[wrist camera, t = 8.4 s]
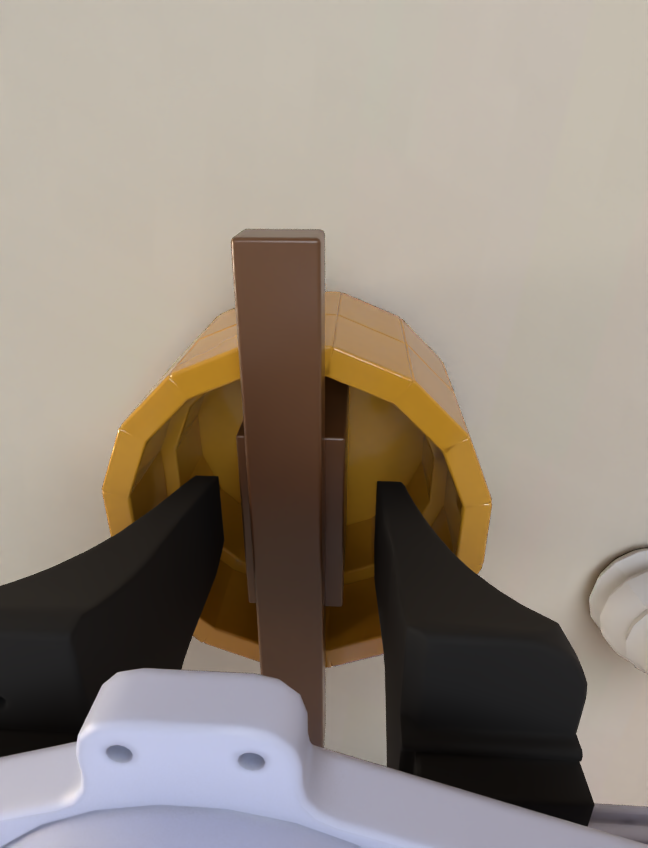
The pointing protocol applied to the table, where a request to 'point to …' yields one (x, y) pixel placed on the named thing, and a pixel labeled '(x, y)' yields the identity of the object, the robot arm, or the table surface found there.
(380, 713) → the table surface
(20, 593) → the robot arm
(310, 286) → the tall wooden post
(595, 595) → the rook chess piece
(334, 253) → the table surface
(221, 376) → the bowl
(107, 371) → the table surface
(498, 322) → the table surface
